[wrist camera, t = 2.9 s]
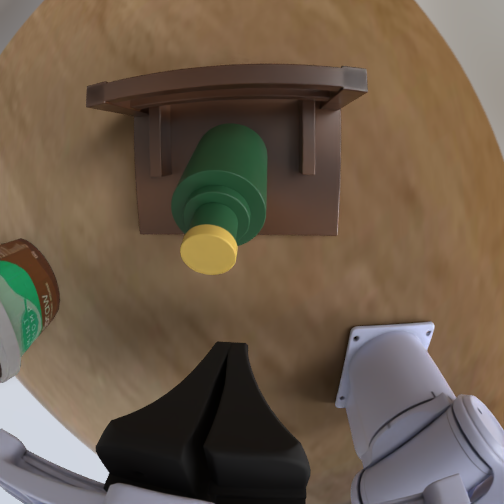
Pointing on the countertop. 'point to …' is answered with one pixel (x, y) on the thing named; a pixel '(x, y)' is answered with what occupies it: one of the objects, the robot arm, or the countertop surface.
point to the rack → (247, 114)
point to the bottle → (221, 197)
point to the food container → (23, 301)
